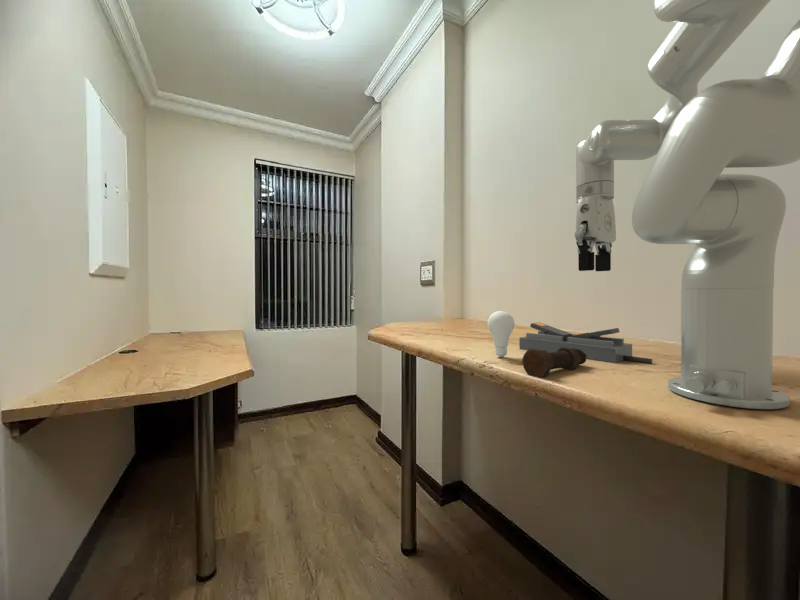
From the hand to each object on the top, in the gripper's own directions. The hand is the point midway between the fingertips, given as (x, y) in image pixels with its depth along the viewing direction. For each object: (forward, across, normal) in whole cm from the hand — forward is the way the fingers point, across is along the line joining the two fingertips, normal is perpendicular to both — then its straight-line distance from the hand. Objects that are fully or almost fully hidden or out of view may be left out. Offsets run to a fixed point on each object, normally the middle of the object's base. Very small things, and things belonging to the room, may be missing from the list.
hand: (594, 270), depth 77 cm
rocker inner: (+15, 0, 0) cm, 15 cm away
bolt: (+20, -19, -2) cm, 28 cm away
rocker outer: (+15, 0, +11) cm, 19 cm away
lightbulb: (+20, -17, +13) cm, 30 cm away
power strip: (+20, 0, +3) cm, 20 cm away
